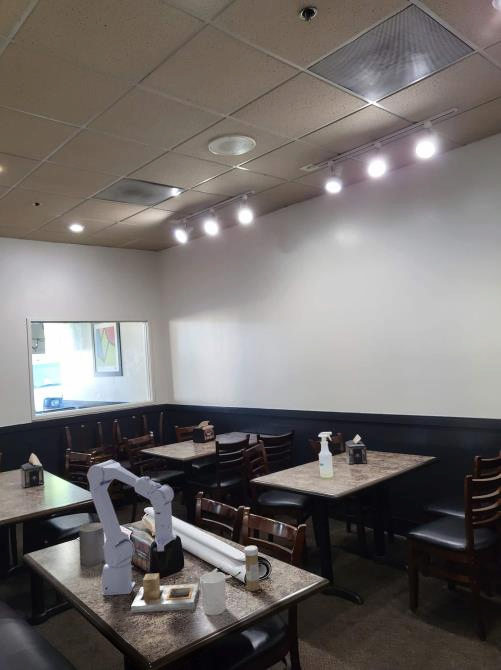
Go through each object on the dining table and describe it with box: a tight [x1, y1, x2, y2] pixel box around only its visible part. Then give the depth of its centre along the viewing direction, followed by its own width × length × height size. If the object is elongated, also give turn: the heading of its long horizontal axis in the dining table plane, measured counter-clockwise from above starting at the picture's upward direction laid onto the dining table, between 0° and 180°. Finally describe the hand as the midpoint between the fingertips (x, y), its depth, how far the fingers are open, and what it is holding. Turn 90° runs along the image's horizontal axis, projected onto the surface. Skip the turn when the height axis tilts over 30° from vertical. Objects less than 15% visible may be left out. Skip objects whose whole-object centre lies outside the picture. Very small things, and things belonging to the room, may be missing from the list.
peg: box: [142, 572, 161, 600], centre depth 160 cm, size 4×4×8 cm
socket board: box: [130, 583, 199, 614], centre depth 159 cm, size 20×13×2 cm, turn 89°
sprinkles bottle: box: [243, 545, 261, 592], centre depth 165 cm, size 5×5×13 cm
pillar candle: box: [78, 522, 106, 567], centre depth 197 cm, size 10×10×15 cm
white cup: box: [199, 571, 227, 616], centre depth 152 cm, size 8×8×10 cm
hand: (165, 565), depth 163 cm, fingers open, 7 cm apart
